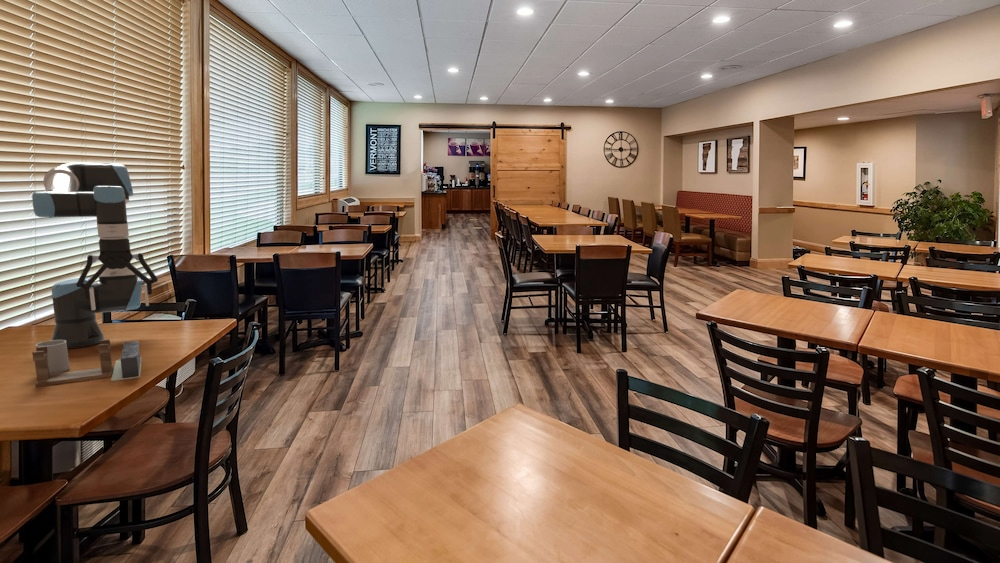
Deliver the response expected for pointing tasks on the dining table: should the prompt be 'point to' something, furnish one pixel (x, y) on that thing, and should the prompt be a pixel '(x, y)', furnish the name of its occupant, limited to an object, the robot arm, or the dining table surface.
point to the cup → (56, 355)
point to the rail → (130, 359)
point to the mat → (118, 371)
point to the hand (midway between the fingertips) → (121, 307)
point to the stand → (72, 376)
